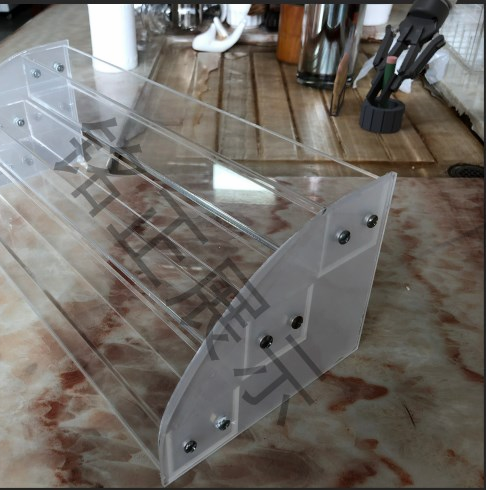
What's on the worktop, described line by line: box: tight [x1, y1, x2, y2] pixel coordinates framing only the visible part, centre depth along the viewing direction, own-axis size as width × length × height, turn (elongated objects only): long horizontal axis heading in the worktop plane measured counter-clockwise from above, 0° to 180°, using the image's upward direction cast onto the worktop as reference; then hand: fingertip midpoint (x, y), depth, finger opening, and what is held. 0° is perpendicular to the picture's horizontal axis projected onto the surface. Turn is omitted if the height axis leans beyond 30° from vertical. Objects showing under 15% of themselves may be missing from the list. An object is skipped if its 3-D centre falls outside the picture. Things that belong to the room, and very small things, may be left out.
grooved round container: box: [358, 96, 406, 134], centre depth 129 cm, size 9×9×5 cm
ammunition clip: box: [328, 50, 349, 117], centre depth 136 cm, size 11×2×12 cm, turn 158°
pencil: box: [378, 56, 398, 109], centre depth 126 cm, size 2×2×12 cm
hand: (374, 101), depth 125 cm, fingers closed on pencil, 2 cm apart
